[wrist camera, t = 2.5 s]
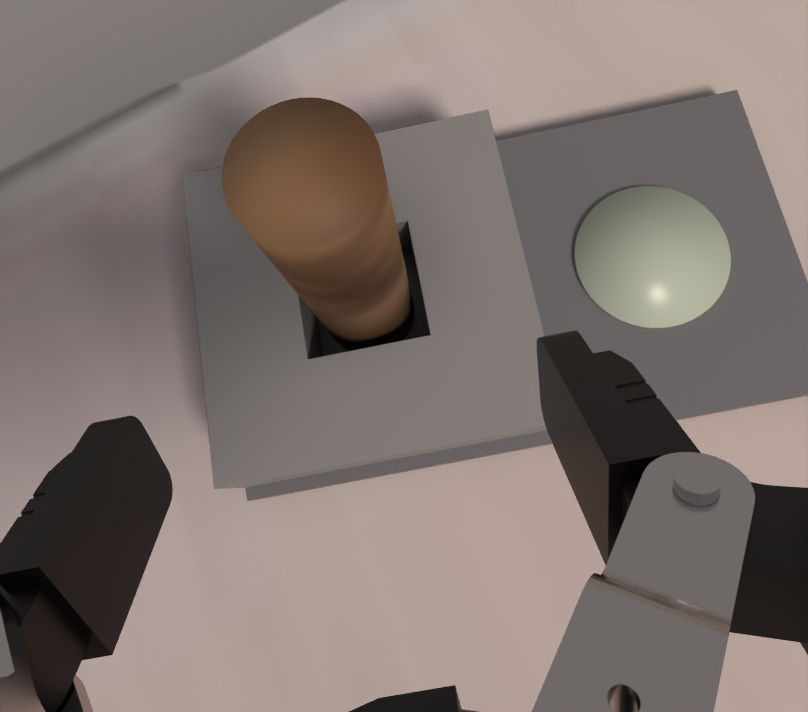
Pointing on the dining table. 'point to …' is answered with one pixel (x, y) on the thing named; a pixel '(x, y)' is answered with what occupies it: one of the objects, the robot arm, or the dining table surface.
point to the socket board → (665, 360)
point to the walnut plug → (323, 216)
